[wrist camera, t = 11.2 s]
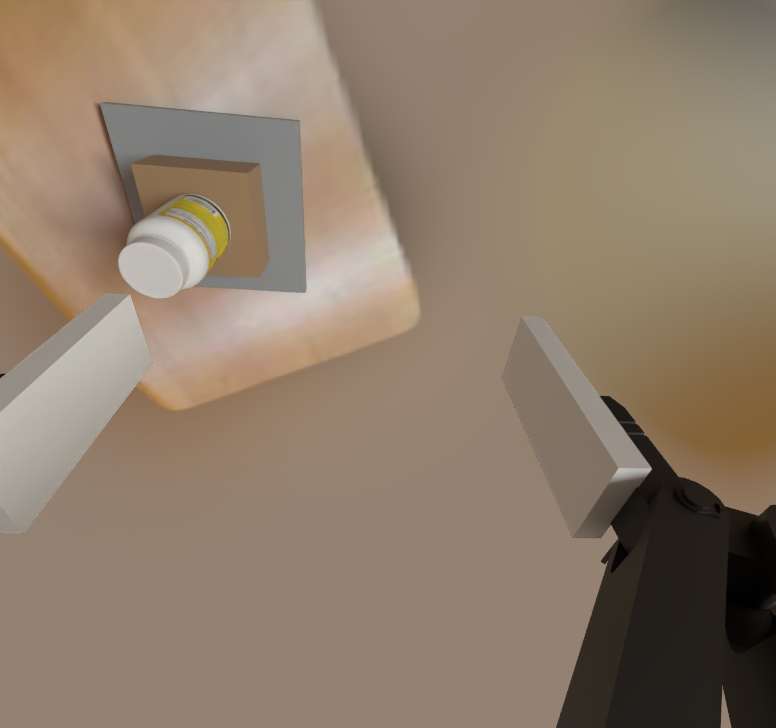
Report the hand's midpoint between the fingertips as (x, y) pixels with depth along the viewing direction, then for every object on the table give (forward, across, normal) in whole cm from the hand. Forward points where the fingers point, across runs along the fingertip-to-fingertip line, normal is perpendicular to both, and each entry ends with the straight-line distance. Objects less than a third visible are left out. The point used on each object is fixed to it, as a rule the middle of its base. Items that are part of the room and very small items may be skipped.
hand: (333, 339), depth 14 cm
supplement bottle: (+23, -13, -4) cm, 27 cm away
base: (+29, -13, -4) cm, 32 cm away
